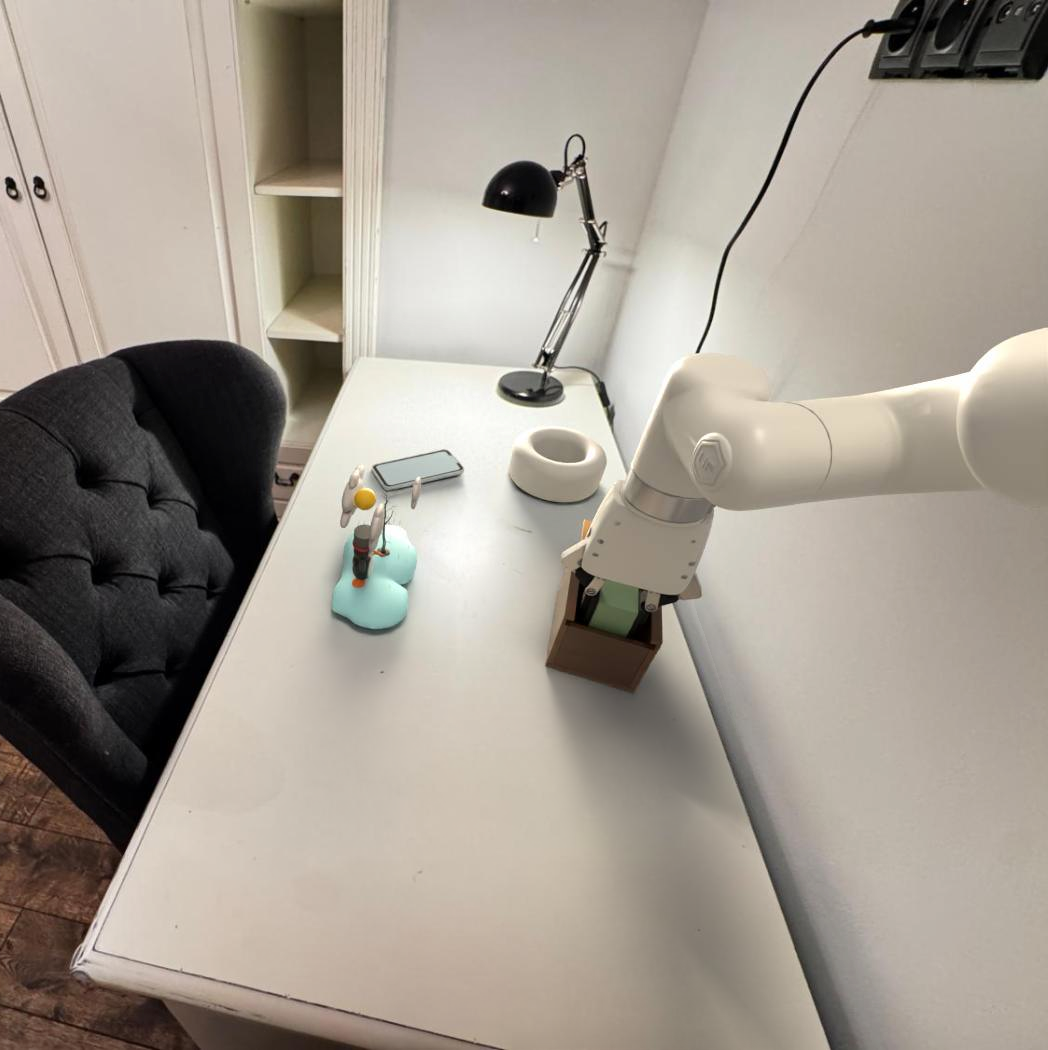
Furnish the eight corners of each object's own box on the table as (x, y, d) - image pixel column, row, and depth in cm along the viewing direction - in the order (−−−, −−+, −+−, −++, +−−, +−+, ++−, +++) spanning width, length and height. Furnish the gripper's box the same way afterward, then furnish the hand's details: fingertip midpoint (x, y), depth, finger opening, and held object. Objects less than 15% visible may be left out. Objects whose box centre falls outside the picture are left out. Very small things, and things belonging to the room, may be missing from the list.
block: (627, 611, 66) (639, 588, 63) (626, 637, 63) (638, 613, 60) (591, 601, 67) (601, 578, 64) (588, 626, 64) (598, 602, 61)
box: (633, 693, 66) (662, 643, 60) (544, 665, 68) (564, 615, 62) (635, 613, 75) (661, 563, 69) (557, 592, 78) (575, 542, 72)
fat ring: (513, 448, 105) (520, 416, 101) (598, 464, 101) (609, 431, 97) (501, 494, 94) (509, 461, 90) (596, 514, 90) (609, 480, 86)
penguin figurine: (402, 641, 71) (411, 552, 61) (319, 625, 73) (316, 537, 63) (421, 537, 86) (432, 453, 76) (353, 527, 88) (354, 443, 78)
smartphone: (369, 464, 99) (447, 448, 103) (369, 469, 100) (446, 452, 103) (385, 488, 94) (466, 470, 98) (385, 493, 95) (465, 474, 98)
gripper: (764, 488, 53) (687, 616, 65) (578, 450, 58) (538, 576, 70) (776, 537, 48) (690, 667, 60) (570, 491, 53) (528, 620, 64)
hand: (608, 617), depth 65 cm, fingers closed on block, 4 cm apart
